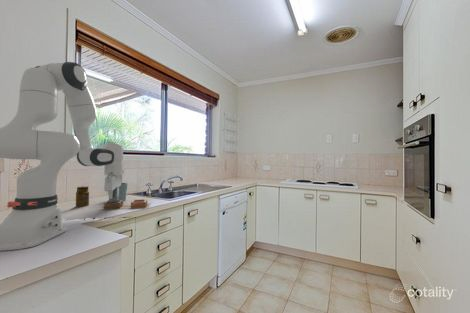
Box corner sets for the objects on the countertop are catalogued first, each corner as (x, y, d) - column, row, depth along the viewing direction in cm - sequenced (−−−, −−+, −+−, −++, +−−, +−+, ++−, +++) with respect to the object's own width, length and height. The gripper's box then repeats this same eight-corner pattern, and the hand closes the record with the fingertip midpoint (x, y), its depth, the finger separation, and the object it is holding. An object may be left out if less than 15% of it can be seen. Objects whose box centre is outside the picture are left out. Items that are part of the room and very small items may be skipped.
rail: (148, 210, 118) (148, 202, 118) (98, 213, 112) (98, 204, 112) (150, 205, 130) (151, 198, 130) (106, 207, 124) (106, 199, 124)
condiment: (89, 206, 127) (89, 185, 127) (90, 209, 120) (91, 187, 120) (73, 208, 122) (73, 186, 122) (74, 211, 115) (74, 188, 115)
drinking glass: (106, 204, 131) (106, 184, 131) (111, 201, 141) (112, 182, 141) (124, 204, 134) (125, 184, 134) (128, 200, 143) (129, 182, 143)
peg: (116, 207, 118) (117, 187, 118) (108, 208, 117) (109, 187, 117) (118, 206, 122) (119, 186, 122) (110, 206, 121) (111, 186, 121)
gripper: (115, 173, 111) (114, 200, 111) (124, 170, 130) (123, 193, 130) (101, 173, 109) (100, 200, 109) (112, 170, 129) (112, 193, 129)
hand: (113, 196), depth 120 cm, fingers open, 8 cm apart
